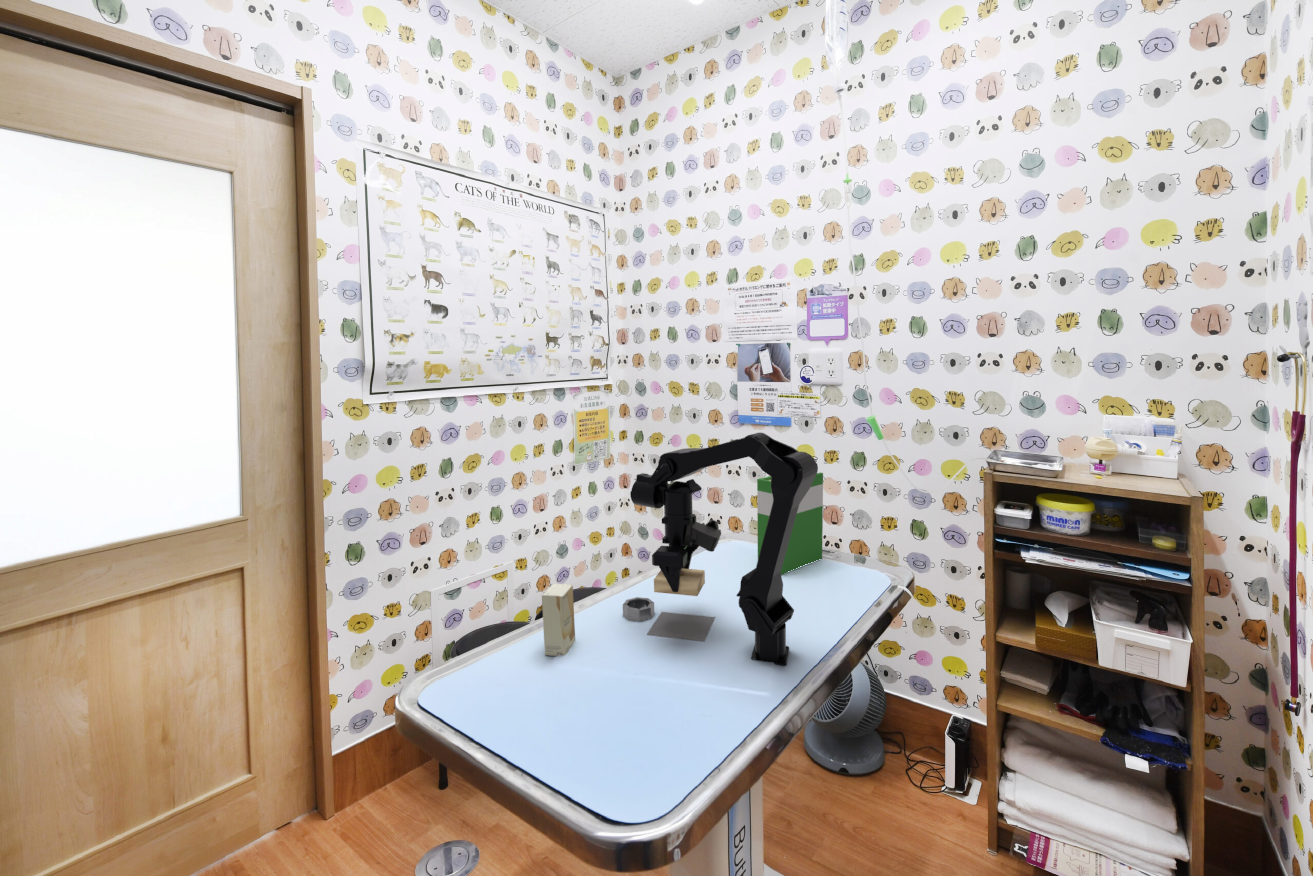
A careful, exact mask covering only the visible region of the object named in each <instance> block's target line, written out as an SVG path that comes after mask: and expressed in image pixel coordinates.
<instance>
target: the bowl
mask: <svg viewBox="0 0 1313 876" xmlns="http://www.w3.org/2000/svg"><path fill="white" fill-rule="evenodd" d="M622 616H623V618H625V619H626V620H627V622H628V621H629V622H638V623H640V622H645V621H648V620H651V619H652V618H653V616H655V602H654V601H653V600H652V599H651V598H648V597H638V596H635V597H632V598H629V599H626V600H625V601H624V603H623V604H622Z"/></svg>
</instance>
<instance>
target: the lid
mask: <svg viewBox="0 0 1313 876" xmlns="http://www.w3.org/2000/svg"><path fill="white" fill-rule="evenodd" d="M705 577H706V573H705V569H695V568H694V569H693V568H689V569H684V568H682V569H681V576H680V584H679V590H678V592H673V591H672V589H671V587H670V586H669V584H668V582H667V580H666V578H665V576H664V574H663V573H662V571H661V570H660V571H659V572H658V573H657V574H656V576H655V577H654V578H653V592H654V593H658V594H659V593H661V594H671V595H683V596H691V597H699V594H700V592H701V591H702V589H703V587H704V586H705V584H706V583H705V582H706V579H705Z"/></svg>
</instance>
